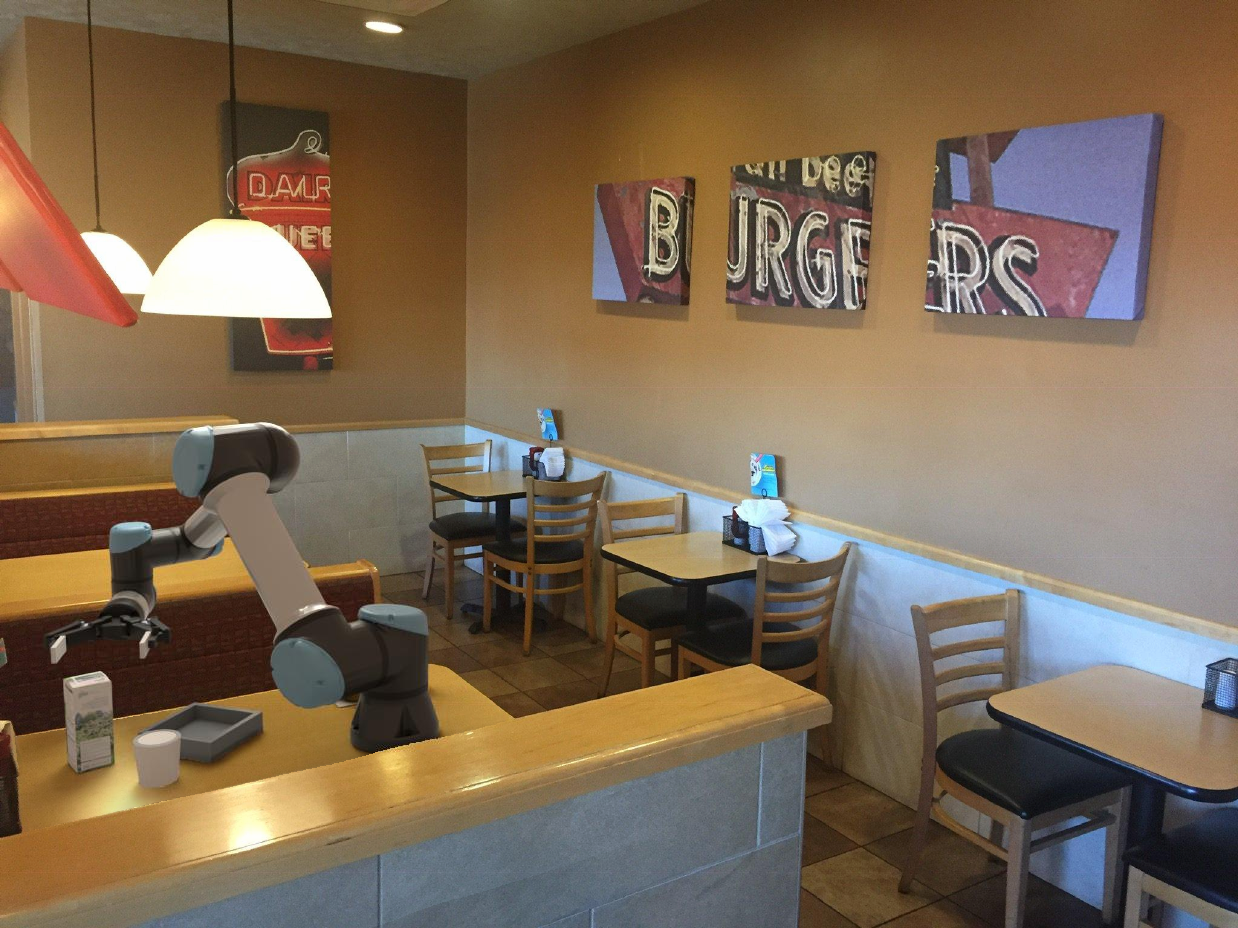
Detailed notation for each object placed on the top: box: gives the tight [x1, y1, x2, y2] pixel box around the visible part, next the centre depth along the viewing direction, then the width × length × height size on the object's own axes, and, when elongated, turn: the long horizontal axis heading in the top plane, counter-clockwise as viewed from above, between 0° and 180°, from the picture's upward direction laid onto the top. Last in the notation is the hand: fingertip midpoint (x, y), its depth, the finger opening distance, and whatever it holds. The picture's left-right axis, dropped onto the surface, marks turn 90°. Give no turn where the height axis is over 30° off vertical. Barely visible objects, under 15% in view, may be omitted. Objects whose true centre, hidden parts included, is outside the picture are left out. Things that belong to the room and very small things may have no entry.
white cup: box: [132, 729, 181, 789], centre depth 158 cm, size 7×7×7 cm
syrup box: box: [63, 670, 116, 774], centre depth 162 cm, size 6×6×14 cm
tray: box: [137, 701, 264, 764], centre depth 173 cm, size 14×14×4 cm
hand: (98, 653), depth 171 cm, fingers open, 13 cm apart
